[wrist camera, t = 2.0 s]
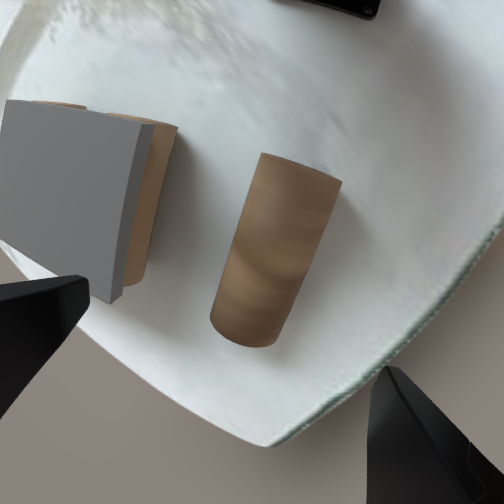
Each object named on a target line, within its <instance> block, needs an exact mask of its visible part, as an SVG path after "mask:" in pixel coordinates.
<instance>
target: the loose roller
mask: <svg viewBox="0 0 504 504" xmlns="http://www.w3.org/2000/svg"><path fill="white" fill-rule="evenodd" d="M341 185H342V181H340V180H338V179H336V178H334V177H332V176H330V175H327V174H325V173H323V172H320V171H318V170H315V169H312V168H310V167H307V166H304V165H302V164H299V163H296V162H293V161H290V160H287V159H284V158H281V157H278V156H274V155H271V154H267V153H261V156H260V159H259V162H258V165H257V168H256V171H255V174H254V177H253V180H252V183H251V186H250V189H249V192H248V195H247V198H246V201H245V204H244V208H243V211H242V214H241V217H240V220H239V223H238V226H237V229H236V233H235V236H234V239H233V242H232V245H231V249H230V252H229V255H228V258H227V261H226V265H225V268H224V271H223V274H222V277H221V281H220V284H219V287H218V290H217V294H216V297H215V300H214V304H213V307H212V310H211V313H210V320H211V323H212V325H213V327H214V328H215V329H216V330H217V331H218V332H219V333H220V334H221V335H222V336H224V337H225V338H227V339H228V340H230V341H232V342H234V343H237V344H239V345H243V346H247V347H257V348H258V347H266V346H269V345H271V344H273V343H274V342H275V341H276V340H277V338H278V336H279V334H280V332H281V330H282V327H283V325H284V323H285V321H286V319H287V316H288V314H289V312H290V310H291V307H292V305H293V303H294V301H295V298H296V296H297V294H298V291H299V289H300V287H301V284H302V282H303V280H304V277H305V275H306V273H307V270H308V268H309V265H310V263H311V261H312V258H313V256H314V253H315V251H316V248H317V246H318V244H319V241H320V239H321V236H322V234H323V231H324V229H325V226H326V224H327V221H328V219H329V216H330V213H331V211H332V208H333V206H334V203H335V200H336V198H337V195H338V193H339V190H340V187H341Z"/></svg>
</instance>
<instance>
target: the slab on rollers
mask: <svg viewBox="0 0 504 504" xmlns="http://www.w3.org/2000/svg"><path fill="white" fill-rule="evenodd" d="M177 130H178V127H177V126H174V125H170V124H167V123H163V122H159V121H154V120H150V119H145V118H140V117H135V116H129V115H123V114H115V113H107V114H104V113H99V112H94V111H89V110H86V107H85V106H81V105H74V104H67V103H59V102H48V101H24V100H6V104H5V109H4V114H3V119H2V125H1V131H0V239H1V240H3V241H4V242H5V243H7V244H8V245H10V246H11V247H13V248H14V249H16V250H17V251H19V252H20V253H22V254H24V255H25V256H27V257H28V258H30V259H31V260H33V261H35V262H36V263H38V264H39V265H41V266H43V267H44V268H46V269H47V270H49V271H51V272H52V273H54V274H56V275H57V276H59V277H61V276H68V275H76V274H77V275H80V276H83V277H85V278H87V279H88V281H89V291H90V294H91V295H93V296H94V297H96V298H98V299H100V300H102V301H104V302H106V303H107V304H109V305H110V304H111V303H113V302H114V301H115V300H116V299H118V298H119V297H120V296H121V295H122V290H123V287H124V286H130V285H133V284H136V283H138V282H139V281H141V280H142V278H143V276H144V272H145V266H146V261H147V255H148V250H149V245H150V240H151V235H152V230H153V225H154V220H155V216H156V211H157V207H158V203H159V198H160V194H161V190H162V186H163V182H164V178H165V174H166V170H167V166H168V162H169V158H170V154H171V151H172V147H173V144H174V140H175V136H176V133H177Z"/></svg>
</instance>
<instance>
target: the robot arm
mask: <svg viewBox="0 0 504 504" xmlns="http://www.w3.org/2000/svg"><path fill="white" fill-rule="evenodd" d="M302 1H306V2H310V3H314V4H318V5H321V6H325V7H328V8H332V9H335V10H338V11H342V12H345V13H348V14H351V15H354V16H357V17H360V18H362V19H365V20H372V19H374V18H375V16H376V14H377V11H378V8H379V4H380V1H381V0H302ZM365 9H368V10H370V11H371V14H367V13H365V12H364V10H365ZM89 304H90V291H89V281H88V279H87V278H85V277H83V276H80V275H77V274H76V275H68V276H61V277H53V278H45V279H38V280H30V281H23V282H15V283H8V284H1V285H0V419H1V418H2V416H3V415H4V414H5V413H6V411H7V410H8V409H9V407H10V406H11V405H12V404H13V402H14V401H15V400H16V399H17V397H18V396H19V395H20V393H21V392H22V391H23V389H24V388H25V387H26V386H27V385H28V384H29V382H30V381H31V380H32V379H33V377H34V376H35V375H36V374H37V372H38V371H39V370H40V369H41V368H42V367H43V365H44V364H45V363H46V362H47V361H48V360H49V358H50V357H51V356H52V355H53V354H54V352H55V351H56V350H57V349H58V348H59V347H60V346H61V344H62V343H63V342H64V341H65V339H66V338H67V337H68V335H69V334H70V332H71V331H72V330H73V328H74V327H75V326H76V324H77V323H78V321H79V320H80V319H81V317H82V316H83V315H84V313H85V312H86V311H87V309H88V307H89ZM366 504H504V474H503V473H501V472H500V471H499V470H498V469H497V468H496V467H495V466H494V465H493V464H492V463H491V462H490V461H489V460H488V459H487V458H486V457H485V456H484V455H483V454H482V453H481V452H480V451H479V450H478V449H477V448H476V447H475V446H474V445H473V444H472V443H471V442H469V440H468V438H467V437H466V436H465V435H464V434H463V433H462V432H461V431H460V430H459V429H458V428H457V427H456V426H455V425H454V424H453V423H452V422H451V421H450V420H449V419H448V417H446V415H445V414H444V413H443V412H442V411H441V410H440V409H439V408H438V407H437V406H436V405H435V404H434V403H433V402H432V401H431V400H430V399H429V398H428V397H427V396H426V395H425V394H424V393H423V392H422V391H421V390H420V389H419V387H418V386H417V385H416V384H414V383H413V381H412V380H411V379H410V378H409V377H408V376H407V375H406V374H405V373H404V372H403V371H402V370H401V369H400V368H399V367H396V366H390V365H385V366H384V367H383V368H382V370H381V372H380V374H379V376H378V377H377V379H376V381H375V383H374V385H373V386H372V389H371V394H370V408H369V420H368V432H367V499H366Z"/></svg>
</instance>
